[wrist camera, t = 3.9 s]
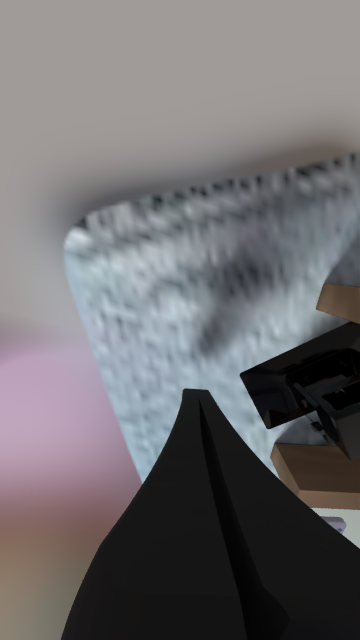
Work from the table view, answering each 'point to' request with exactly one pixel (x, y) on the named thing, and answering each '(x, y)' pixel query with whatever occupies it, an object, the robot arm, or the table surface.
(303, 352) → the black piece
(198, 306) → the table surface
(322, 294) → the walled channel
